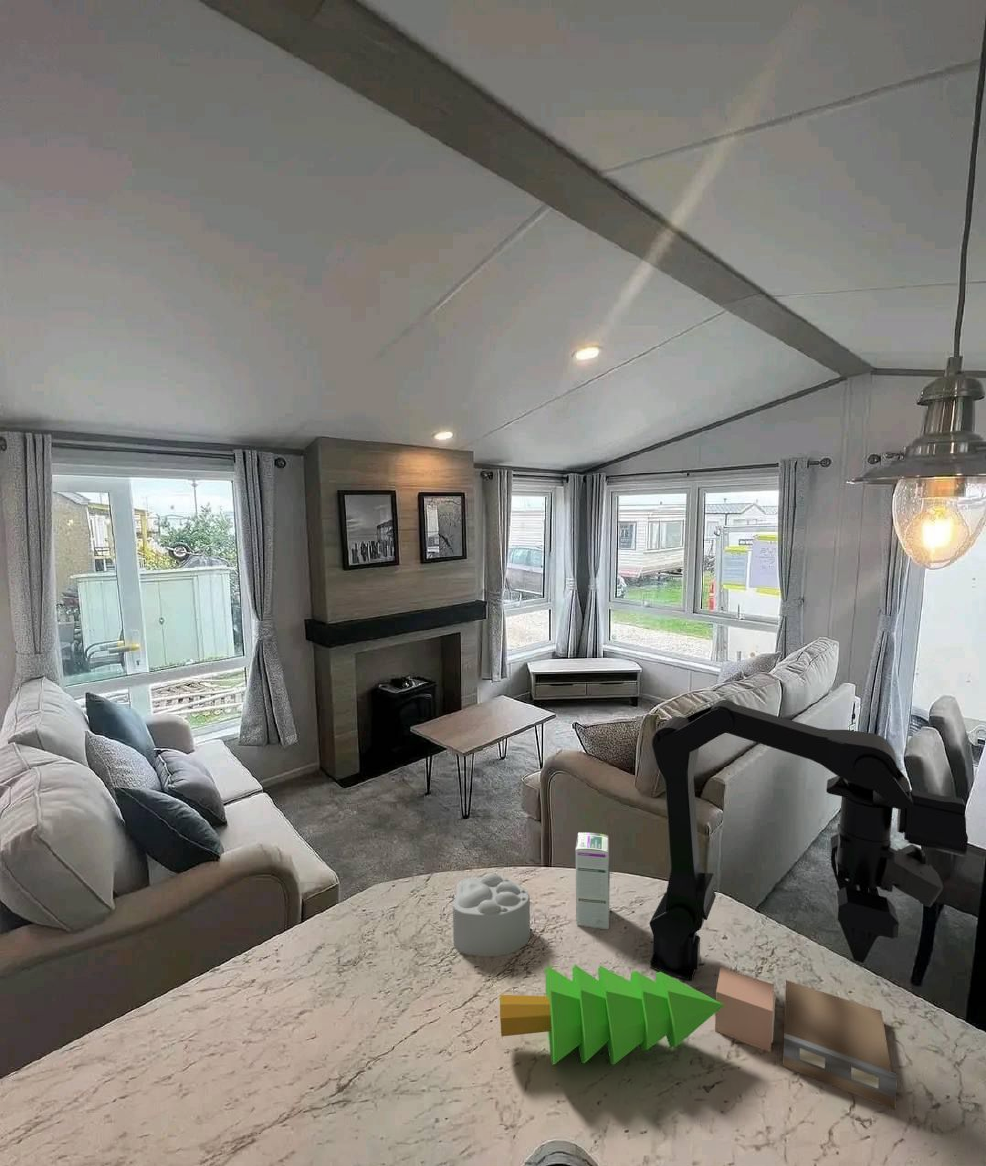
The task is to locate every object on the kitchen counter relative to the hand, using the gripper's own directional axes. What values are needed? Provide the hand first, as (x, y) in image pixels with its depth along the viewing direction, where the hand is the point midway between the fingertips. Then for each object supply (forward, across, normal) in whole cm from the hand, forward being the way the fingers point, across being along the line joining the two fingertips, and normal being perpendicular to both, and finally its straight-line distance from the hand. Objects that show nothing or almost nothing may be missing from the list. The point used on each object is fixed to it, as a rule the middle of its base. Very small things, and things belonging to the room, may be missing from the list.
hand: (855, 938), depth 78 cm
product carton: (+14, -6, +13) cm, 20 cm away
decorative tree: (+14, -18, +28) cm, 37 cm away
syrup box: (+15, +6, +39) cm, 42 cm away
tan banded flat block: (+14, -3, +2) cm, 14 cm away
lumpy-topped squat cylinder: (+15, -6, +53) cm, 55 cm away
